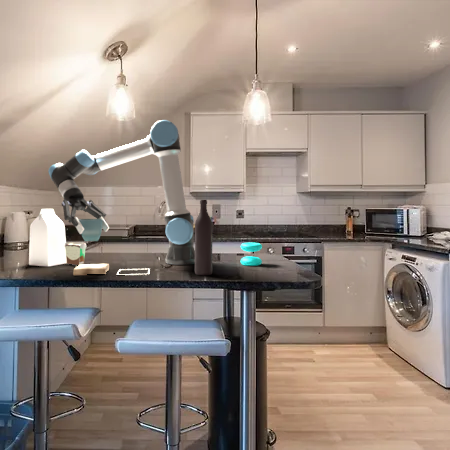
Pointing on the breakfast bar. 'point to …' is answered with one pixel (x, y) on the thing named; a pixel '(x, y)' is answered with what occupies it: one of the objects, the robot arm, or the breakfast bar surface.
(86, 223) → the flower pot
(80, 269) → the bread slice
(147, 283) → the breakfast bar surface
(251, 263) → the pair of cyan ovals
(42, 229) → the milk
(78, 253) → the food container
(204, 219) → the wine bottle
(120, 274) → the seat outline
